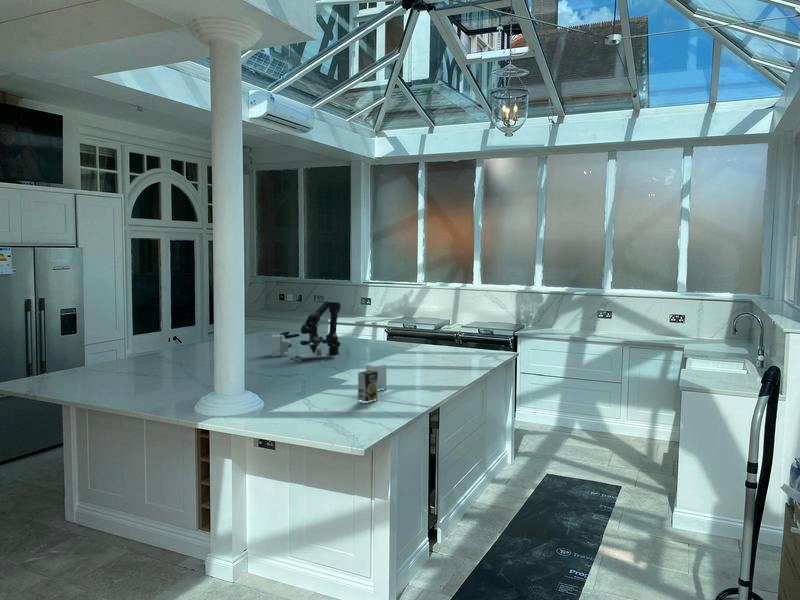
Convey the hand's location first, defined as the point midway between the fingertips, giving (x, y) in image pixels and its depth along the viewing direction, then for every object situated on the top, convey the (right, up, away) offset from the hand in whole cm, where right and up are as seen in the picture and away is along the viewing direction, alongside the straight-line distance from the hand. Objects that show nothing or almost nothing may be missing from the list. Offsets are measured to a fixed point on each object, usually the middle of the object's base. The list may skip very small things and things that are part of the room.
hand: (313, 353), depth 458 cm
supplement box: (+49, -13, -92) cm, 105 cm away
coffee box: (+45, -16, -118) cm, 128 cm away
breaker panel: (-1, -4, 0) cm, 4 cm away
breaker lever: (+4, -2, +2) cm, 5 cm away
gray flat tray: (-1, -3, 0) cm, 3 cm away
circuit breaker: (-25, -3, +13) cm, 29 cm away
